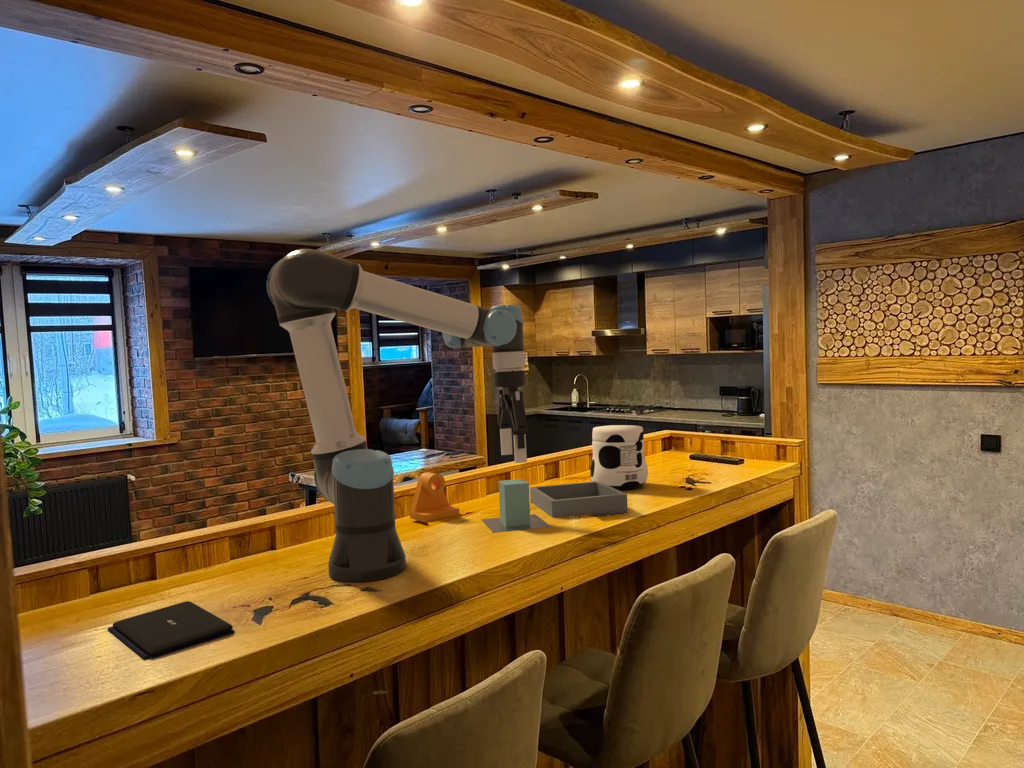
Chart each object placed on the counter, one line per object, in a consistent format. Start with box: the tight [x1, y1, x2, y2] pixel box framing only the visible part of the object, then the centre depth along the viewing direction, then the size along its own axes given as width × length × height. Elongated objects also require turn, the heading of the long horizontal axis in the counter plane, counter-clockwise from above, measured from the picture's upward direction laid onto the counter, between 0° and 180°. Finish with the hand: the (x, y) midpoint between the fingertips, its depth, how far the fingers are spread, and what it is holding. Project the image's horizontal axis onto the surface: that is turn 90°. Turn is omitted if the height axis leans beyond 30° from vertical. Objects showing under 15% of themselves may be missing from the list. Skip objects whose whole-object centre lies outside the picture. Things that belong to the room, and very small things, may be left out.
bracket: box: [409, 471, 460, 523], centre depth 183 cm, size 11×7×12 cm, turn 130°
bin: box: [529, 481, 629, 518], centre depth 188 cm, size 20×20×5 cm
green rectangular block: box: [498, 478, 531, 527], centre depth 172 cm, size 6×6×10 cm
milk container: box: [589, 424, 649, 490], centre depth 217 cm, size 17×17×18 cm
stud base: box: [480, 513, 552, 534], centre depth 172 cm, size 14×14×6 cm
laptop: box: [107, 600, 236, 661], centre depth 114 cm, size 16×20×2 cm
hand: (513, 458), depth 171 cm, fingers open, 13 cm apart
